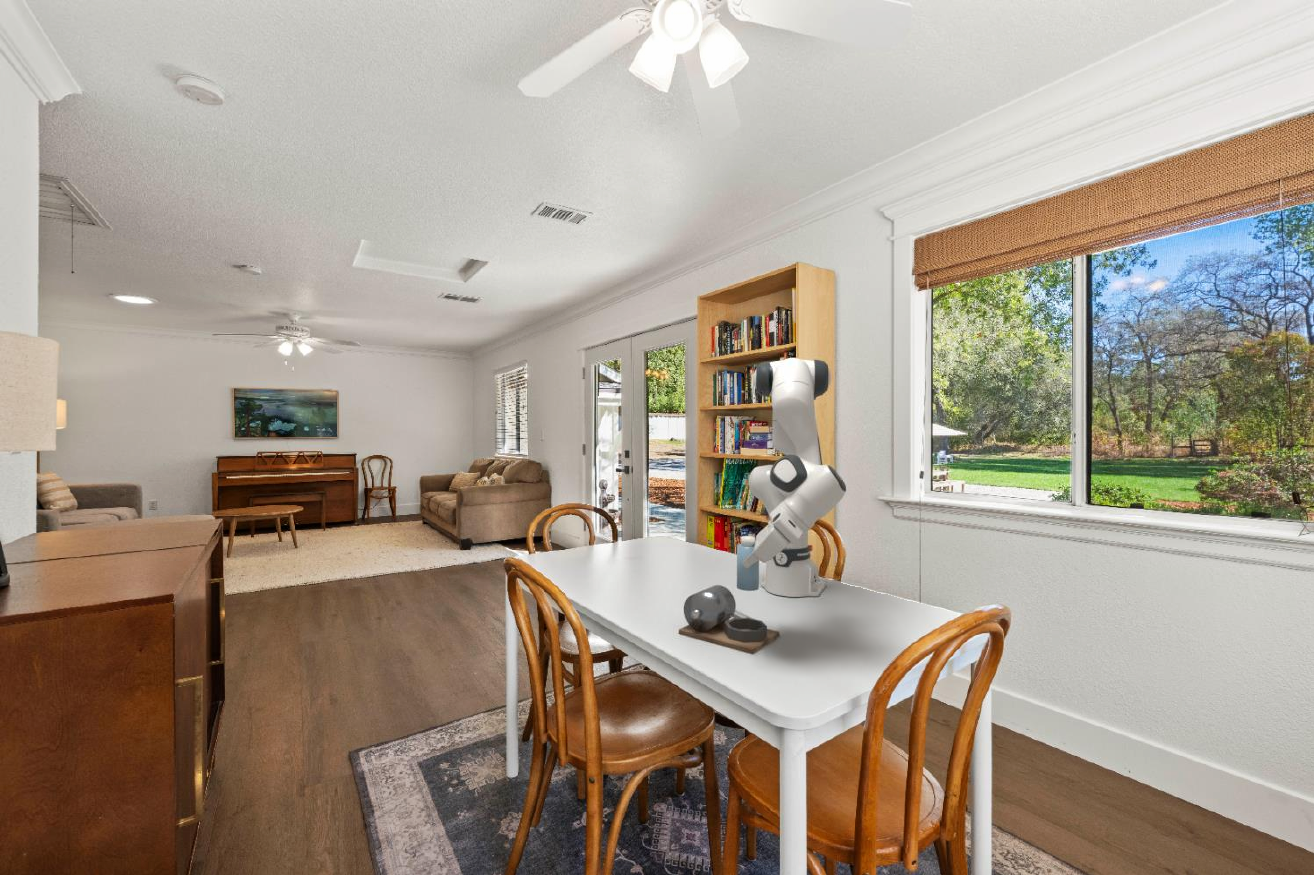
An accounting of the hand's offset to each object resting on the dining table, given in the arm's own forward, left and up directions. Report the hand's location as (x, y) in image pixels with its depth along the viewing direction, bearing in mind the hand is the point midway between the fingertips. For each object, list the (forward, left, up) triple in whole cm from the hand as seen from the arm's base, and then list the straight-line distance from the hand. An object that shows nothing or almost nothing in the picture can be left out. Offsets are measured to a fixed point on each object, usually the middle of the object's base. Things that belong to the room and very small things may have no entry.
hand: (745, 562), depth 132 cm
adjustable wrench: (-13, -11, -19) cm, 26 cm away
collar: (0, 0, -18) cm, 18 cm away
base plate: (0, -4, -18) cm, 19 cm away
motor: (+1, -10, -17) cm, 20 cm away
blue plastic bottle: (0, +1, -6) cm, 6 cm away
